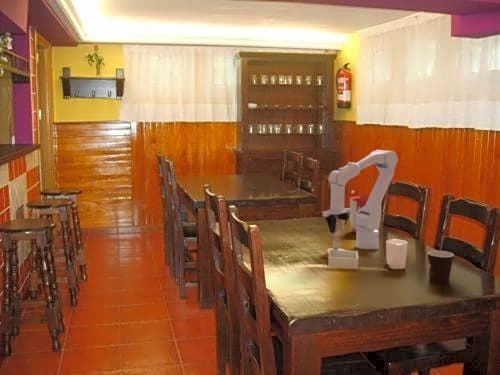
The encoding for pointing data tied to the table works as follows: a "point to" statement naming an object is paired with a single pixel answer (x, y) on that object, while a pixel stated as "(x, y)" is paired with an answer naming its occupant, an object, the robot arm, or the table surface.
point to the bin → (343, 259)
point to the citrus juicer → (356, 205)
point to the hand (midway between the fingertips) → (336, 231)
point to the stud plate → (335, 245)
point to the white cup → (396, 253)
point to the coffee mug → (439, 266)
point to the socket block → (339, 228)
